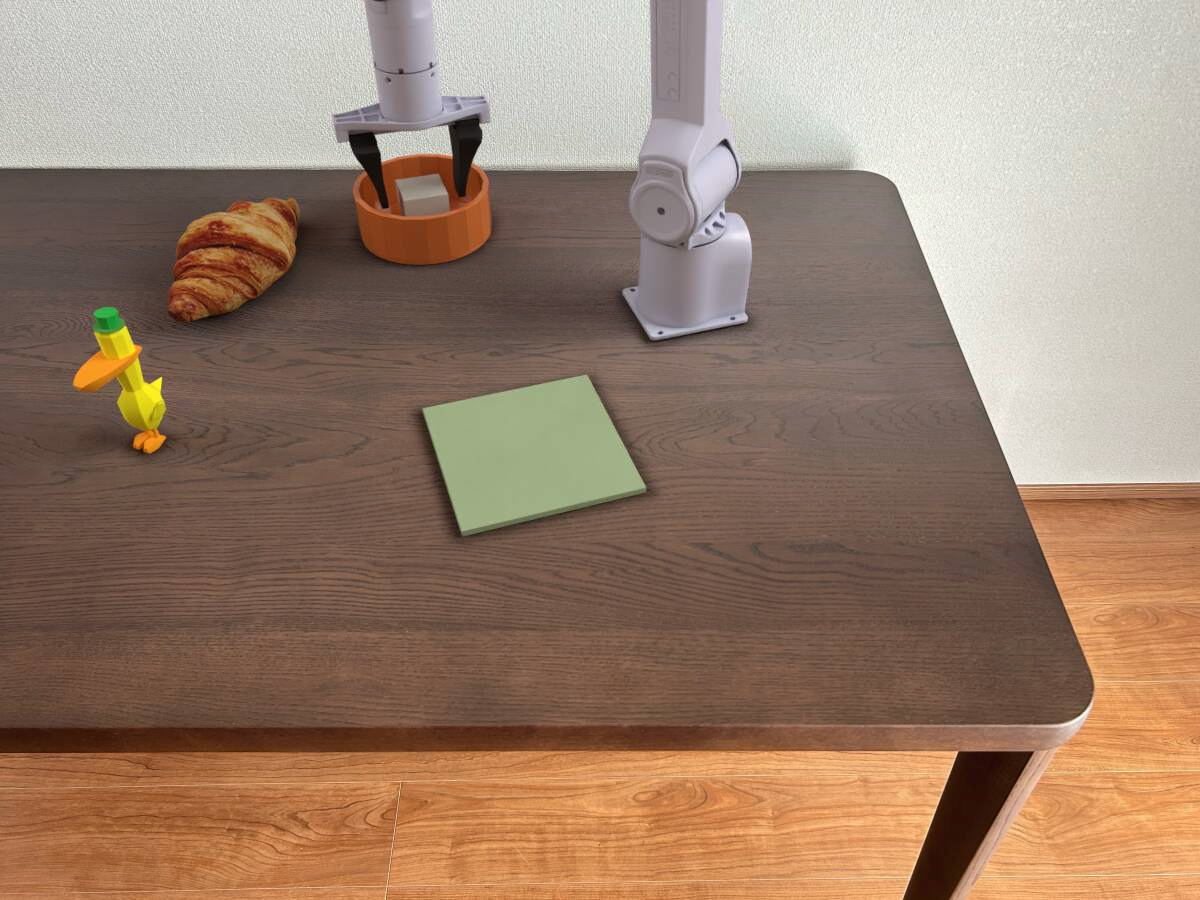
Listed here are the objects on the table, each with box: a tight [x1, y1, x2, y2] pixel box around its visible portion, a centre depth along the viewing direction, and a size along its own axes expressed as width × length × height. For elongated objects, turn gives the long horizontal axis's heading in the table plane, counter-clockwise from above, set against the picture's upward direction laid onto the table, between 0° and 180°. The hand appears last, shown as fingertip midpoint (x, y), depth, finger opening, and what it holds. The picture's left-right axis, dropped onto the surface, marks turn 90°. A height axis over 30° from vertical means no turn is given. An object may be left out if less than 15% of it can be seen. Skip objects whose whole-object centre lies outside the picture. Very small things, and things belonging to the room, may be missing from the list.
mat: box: [422, 374, 647, 538], centre depth 75 cm, size 14×14×1 cm
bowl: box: [352, 153, 493, 266], centre depth 97 cm, size 13×13×5 cm
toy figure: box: [72, 306, 167, 455], centre depth 71 cm, size 7×4×12 cm, turn 157°
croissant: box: [166, 197, 301, 323], centre depth 91 cm, size 21×10×8 cm, turn 166°
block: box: [395, 174, 450, 216], centre depth 97 cm, size 4×4×4 cm
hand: (422, 198), depth 97 cm, fingers open, 7 cm apart
